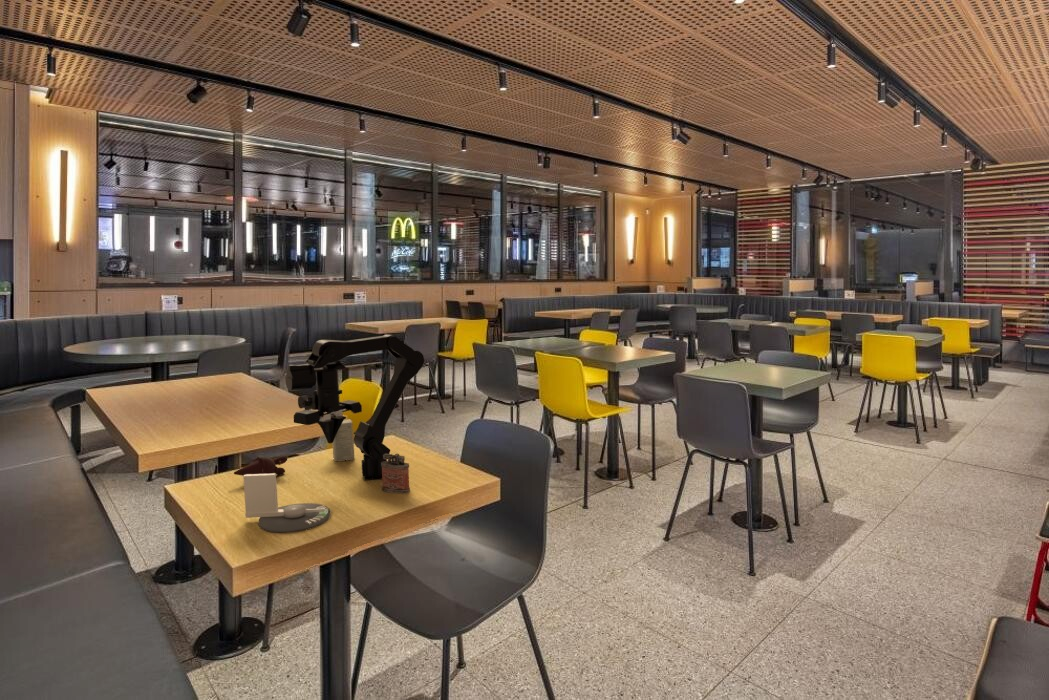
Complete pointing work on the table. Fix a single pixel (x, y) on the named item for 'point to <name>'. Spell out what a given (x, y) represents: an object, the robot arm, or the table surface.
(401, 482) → the lighter
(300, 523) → the tuner dial
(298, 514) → the rotary selector knob
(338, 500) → the table surface
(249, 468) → the maroon gnome figurine
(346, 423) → the skincare box
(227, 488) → the table surface
